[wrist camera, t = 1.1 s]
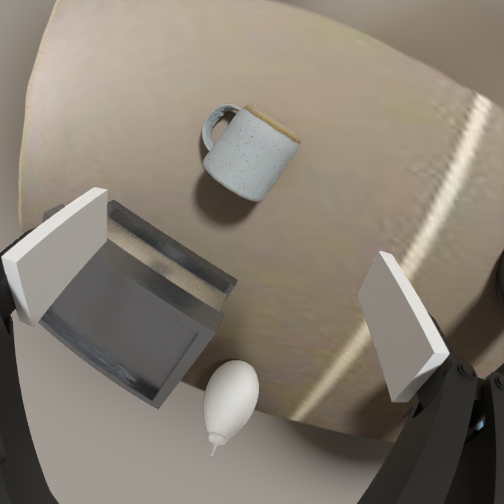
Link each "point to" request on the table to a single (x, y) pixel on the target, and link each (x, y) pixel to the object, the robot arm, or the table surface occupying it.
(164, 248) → the grey piece
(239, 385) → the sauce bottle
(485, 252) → the table surface
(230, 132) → the ceramic mug
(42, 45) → the table surface
